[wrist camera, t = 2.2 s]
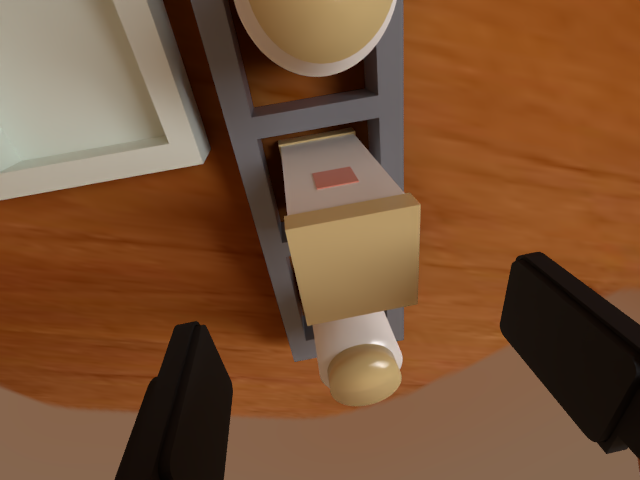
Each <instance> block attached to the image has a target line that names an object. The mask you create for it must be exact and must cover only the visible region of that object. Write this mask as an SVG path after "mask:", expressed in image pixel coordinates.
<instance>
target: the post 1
mask: <svg viewBox="0 0 640 480" xmlns="http://www.w3.org/2000/svg"><path fill="white" fill-rule="evenodd" d="M396 1H397V0H234V3H235V7H236V10H237V12H238V15H239V17H240V20H241V22H242V24H243V26H244V28H245V30H246V31H247V33H248V35H249V36H250V38H251V39H252V41H253V42H254V43H255V45H256V46H257V47H258V48H259V49H260V50H261V51H262V53H264V54H265V55H266V56H267V57H268V58H269V59H270V60H271V61H273V62H274V63H276V64H277V65H279V66H280V67H282V68H284V69H286V70H288V71H290V72H293V73H296V74H299V75H304V76H312V77H321V76H329V75H333V74H337V73H340V72H342V71H345V70H347V69H349V68H351V67H352V66H354V65H356V64H357V63H358V62H360V61H361V60H362V59H363V58H365V57H366V56H367V55H368V54H369V53H370V52H371V51H372V49H373V48H374V47H375V46H376V44H377V43H378V42H379V40H380V39H381V37H382V36H383V34H384V32H385V30H386V28H387V26H388V24H389V22H390V20H391V17H392V14H393V12H394V9H395V5H396Z"/></svg>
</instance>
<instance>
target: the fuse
mask: <svg viewBox="0 0 640 480" xmlns="http://www.w3.org/2000/svg"><path fill="white" fill-rule="evenodd" d="M278 145H279V150H280V155H281V160H282V165H283V176H284V186H285V196H286V207H287V216H284V223H285V232H286V236H287V241H288V245H289V249H290V253H291V258H292V262H293V266H294V271H295V275H296V279H297V284H298V288H299V292H300V296H301V301H302V305H303V309H304V314H305V318H306V322H307V326H310V325H315V324H320V323H325V322H330V321H335V320H340V319H345V318H350V317H355V316H360V315H365V314H370V313H375V312H381V311H386V310H391V309H396V308H401V307H406V306H411V305H416V304H418V273H419V240H420V207H421V204H420V203H419V202H418V201H417V200H416V199H415V198H414V197H413V196H412V194H411V193H406V194H405V193H404V192H403V191H402V190H401V188H400V187H399V186H398V185H397V184H396V183H395V181H394V180H393V179H392V178H391V177H390V176H389V174H388V173H387V172H386V171H385V170H384V169H383V167H382V166H381V165H380V164H379V163H378V162H377V160H376V159H375V158H374V157H373V156H372V155H371V153H370V152H369V151H368V150H367V149H366V148H365V146H364V145H363V144H362V143H361V142H360V140H359V139H358V138H357V137H356V135H355V131H354V129H353V128H352V127H351V128H346V129H340V130H334V131H329V132H323V133H318V134H312V135H306V136H301V137H295V138H290V139H284V140H278Z"/></svg>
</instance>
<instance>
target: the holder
mask: <svg viewBox="0 0 640 480" xmlns="http://www.w3.org/2000/svg"><path fill="white" fill-rule="evenodd" d="M191 4H192V7H193V11H194V14H195V18H196V21H197V25H198V28H199V32H200V35H201V39H202V42H203V46H204V49H205V53H206V56H207V59H208V63H209V66H210V70H211V73H212V77H213V80H214V84H215V87H216V91H217V94H218V98H219V101H220V105H221V108H222V112H223V115H224V119H225V122H226V125H227V129H228V132H229V136H230V139H231V143H232V146H233V150H234V153H235V157H236V160H237V164H238V167H239V171H240V174H241V178H242V181H243V185H244V188H245V191H246V195H247V198H248V202H249V205H250V209H251V212H252V216H253V219H254V223H255V226H256V230H257V233H258V237H259V240H260V244H261V247H262V251H263V254H264V257H265V261H266V264H267V268H268V271H269V275H270V278H271V282H272V285H273V289H274V292H275V296H276V299H277V303H278V306H279V310H280V313H281V317H282V320H283V323H284V327H285V330H286V334H287V337H288V341H289V344H290V348H291V351H292V355H293V358H294V362H296V361H301V360H306V359H311V358H316V357H317V352H316V345H315V339H314V332H313V325H310V326H307V322H306V318H305V316H303V314H302V309H301V305H300V301H299V297H298V293H297V288H296V284H295V280H294V276H293V271H292V267H291V263H290V259H289V256H291V253H290V249H289V245H288V241H287V236H286V232H285V223H284V222H281V221H280V217H279V212H278V208H277V204H276V200H275V196H274V191H273V187H272V183H271V179H270V174H269V170H268V166H267V162H266V158H265V153H264V149H263V145H262V141H261V139H262V138H267V137H273V136H278V135H284V134H290V133H295V132H301V131H307V130H312V129H318V128H323V127H329V126H335V125H340V124H346V123H351V122H357V121H363V120H367V125H368V142H369V152H370V153H371V155H372V156H373V157H374V158H375V159H376V160H377V162H378V163H379V164H380V165H381V166H382V167H383V169H384V170H385V171H386V172H387V173H388V174H389V176H390V177H391V178H392V179H393V180H394V181H395V183H396V184H397V185H398V186H399V187H400V188H401V190H402V191H403V192H404V162H403V0H397V1H396V5H395V9H394V12H393V14H392V17H391V20H390V22H389V24H388V26H387V28H386V30H385V32H384V34H383V36H382V37H381V39H380V40H379V42H378V43H377V44H376V46H375V47H374V48H373V49H372V51H371V52H370V53H369V54H368V55H367V56H366V57H365V58H364V75H365V88H364V89H358V90H353V91H347V92H341V93H335V94H330V95H324V96H318V97H312V98H307V99H301V100H295V101H290V102H284V103H278V104H272V105H267V106H261V107H255V108H254V107H253V103H252V99H251V94H250V90H249V86H248V82H247V77H246V73H245V69H244V65H243V61H242V56H241V52H240V48H239V44H238V39H237V35H236V31H235V27H234V23H233V18H232V14H231V10H230V6H229V1H228V0H191ZM384 312H385V315H386V317H387V320H388V322H389V324H390V327H391V329H392V332H393V334H394V337H395V339H396V341H400V340H404V307H401V308H396V309H391V310H386V311H384Z"/></svg>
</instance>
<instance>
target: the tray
mask: <svg viewBox="0 0 640 480" xmlns="http://www.w3.org/2000/svg"><path fill="white" fill-rule="evenodd" d="M210 150H211V147H210V144H209V141H208V138H207V135H206V132H205V129H204V126H203V123H202V119H201V116H200V113H199V110H198V107H197V104H196V101H195V98H194V95H193V92H192V89H191V86H190V83H189V79H188V76H187V73H186V70H185V67H184V64H183V61H182V58H181V55H180V52H179V49H178V46H177V43H176V39H175V36H174V33H173V30H172V27H171V24H170V21H169V18H168V15H167V12H166V9H165V6H164V3H163V0H0V200H5V199H10V198H16V197H21V196H27V195H33V194H38V193H44V192H49V191H55V190H60V189H66V188H72V187H77V186H83V185H88V184H94V183H99V182H105V181H111V180H116V179H122V178H127V177H133V176H138V175H144V174H150V173H155V172H161V171H166V170H172V169H177V168H183V167H189V166H194V165H200V164H203V163H204V162H205V160H206V158H207V156H208V154H209V152H210Z"/></svg>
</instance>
